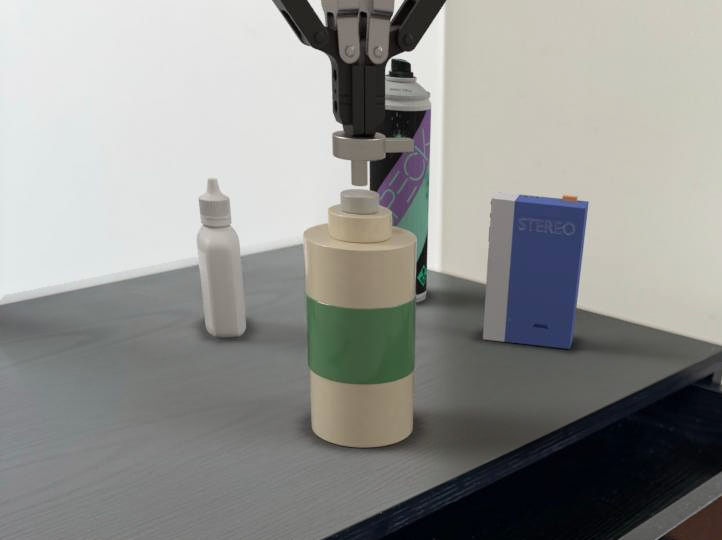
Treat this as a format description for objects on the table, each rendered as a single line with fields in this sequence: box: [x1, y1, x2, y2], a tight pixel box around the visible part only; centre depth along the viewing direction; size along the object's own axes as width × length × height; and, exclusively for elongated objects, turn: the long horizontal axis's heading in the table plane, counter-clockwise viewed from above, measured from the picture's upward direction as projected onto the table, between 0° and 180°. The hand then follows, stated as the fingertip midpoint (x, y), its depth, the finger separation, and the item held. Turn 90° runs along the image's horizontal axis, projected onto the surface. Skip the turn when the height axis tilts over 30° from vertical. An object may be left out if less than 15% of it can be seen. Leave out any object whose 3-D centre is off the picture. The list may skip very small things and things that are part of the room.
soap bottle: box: [302, 188, 417, 449], centre depth 65 cm, size 7×7×16 cm
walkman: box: [482, 192, 590, 350], centre depth 83 cm, size 8×3×12 cm, turn 79°
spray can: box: [369, 58, 432, 303], centre depth 89 cm, size 6×6×20 cm
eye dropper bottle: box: [196, 177, 247, 338], centre depth 81 cm, size 4×6×12 cm
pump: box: [331, 129, 414, 187], centre depth 60 cm, size 5×3×3 cm, turn 113°
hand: (358, 133), depth 58 cm, fingers closed
